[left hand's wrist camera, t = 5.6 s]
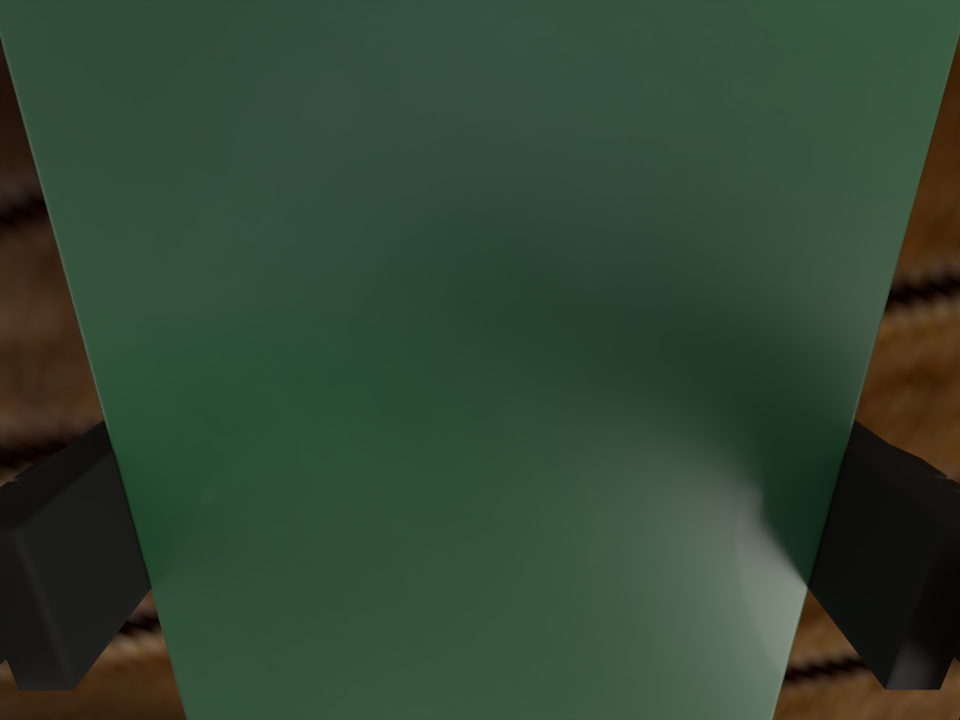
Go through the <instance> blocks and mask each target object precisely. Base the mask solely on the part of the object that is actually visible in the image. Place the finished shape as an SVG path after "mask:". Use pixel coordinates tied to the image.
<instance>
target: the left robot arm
mask: <svg viewBox="0 0 960 720" xmlns="http://www.w3.org/2000/svg"><path fill="white" fill-rule="evenodd" d="M150 589H151V587H150V584H149V580H148V576H147V573H146V569H145V566H144V562H143V558H142V555H141V551H140V547H139V544H138V540H137V536H136V533H135V529H134V525H133V522H132V518H131V514H130V511H129V507H128V503H127V500H126V496H125V492H124V489H123V485H122V481H121V478H120V474H119V470H118V467H117V463H116V459H115V456H114V452H113V448H112V445H111V441H110V437H109V434H108V430H107V426H106V423H105V420H104V421H102V422H101V423H99V424H98V425H97V426H95V427H94V428H92V429H91V430H89V431H88V432H87V433H85V434H84V435H82V436H81V437H80V438H78V439H77V440H75V441H74V442H72V443H71V444H70V445H68V446H67V447H65V448H64V449H63V450H61V451H59V452H56V453H54V454H52V455H50V456H48V457H45V458H43V459H41V460H39V461H37V462H36V463H34V464H33V465H31V466H30V467H29V468H27V469H26V470H24V471H23V472H21V473H20V474H18V475H17V476H16V477H14V478H13V481H12V482H7V483H5V484H4V485H3V486H1V487H0V664H1V663H2V662H3V661H4V660H5V659H7V662H8V664H9V666H10V669H11V671H12V674H13V676H14V678H15V681H16V683H17V685H18V688H19V690H74V689H75V688H76V686H77V685H78V684H79V682H80V681H81V680H82V678H83V677H84V676H85V675H86V673H87V672H88V671H89V669H90V668H91V667H92V665H93V664H94V663H95V661H96V660H97V659H98V657H99V656H100V655H101V653H102V652H103V651H104V649H105V648H106V647H107V645H108V644H109V643H110V642H111V640H112V639H113V638H114V636H115V635H116V634H117V632H118V631H119V630H120V628H121V627H122V626H123V624H124V623H125V622H126V620H127V619H128V618H129V616H130V615H131V614H132V613H133V611H134V610H135V609H136V607H137V606H138V605H139V603H140V602H141V601H142V599H143V598H144V597H145V595H146V594H147V593H148V591H149V590H150ZM809 590H810V591H811V592H812V594H813V595H814V596H815V597H816V599H817V600H818V601H819V603H820V604H821V605H822V607H823V608H824V609H825V611H826V612H827V613H828V615H829V616H830V617H831V619H832V620H833V621H834V623H835V624H836V625H837V627H838V628H839V629H840V630H841V632H842V633H843V634H844V636H845V637H846V638H847V640H848V641H849V642H850V644H851V645H852V646H853V648H854V649H855V650H856V652H857V653H858V654H859V656H860V657H861V658H862V659H863V661H864V662H865V663H866V665H867V666H868V667H869V669H870V670H871V671H872V673H873V674H874V675H875V677H876V678H877V679H878V681H879V682H880V683H881V685H882V686H883V687H884V689H885V690H940V688H941V686H942V683H943V681H944V679H945V676H946V674H947V671H948V669H949V667H950V664H951V662H952V659H953V657H954V656H955V657H956V659H957V660H958V661H959V662H960V485H959V484H958V483H956V482H955V481H953V480H948V479H947V476H946V475H945V474H943V473H942V472H940V471H939V470H937V469H936V468H935V467H933V466H932V465H930V464H929V463H927V462H926V461H924V460H923V459H921V458H919V457H917V456H915V455H913V454H910V453H908V452H906V451H904V450H901V449H899V448H897V447H895V446H893V445H890V444H888V443H887V442H885V441H884V440H883V439H881V438H880V437H878V436H877V435H876V434H874V433H873V432H871V431H870V430H868V429H867V428H866V427H864V426H863V425H861V424H860V423H859V422H857V421H856V420H854V423H853V426H852V430H851V434H850V437H849V441H848V445H847V448H846V452H845V456H844V459H843V463H842V467H841V470H840V474H839V478H838V481H837V485H836V489H835V492H834V496H833V500H832V503H831V507H830V511H829V514H828V518H827V522H826V525H825V529H824V533H823V536H822V540H821V544H820V547H819V551H818V555H817V558H816V562H815V566H814V569H813V573H812V577H811V580H810V584H809ZM959 720H960V718H959Z"/></svg>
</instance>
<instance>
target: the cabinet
mask: <svg viewBox="0 0 960 720" xmlns="http://www.w3.org/2000/svg"><path fill="white" fill-rule="evenodd" d="M959 35H960V0H0V38H1V42H2V46H3V49H4V53H5V57H6V60H7V64H8V68H9V71H10V75H11V79H12V82H13V86H14V90H15V93H16V97H17V101H18V104H19V108H20V112H21V115H22V119H23V123H24V126H25V130H26V134H27V137H28V141H29V145H30V148H31V152H32V156H33V159H34V163H35V167H36V170H37V174H38V178H39V181H40V185H41V189H42V192H43V196H44V200H45V203H46V207H47V210H48V214H49V218H50V221H51V225H52V229H53V232H54V236H55V240H56V243H57V247H58V251H59V254H60V258H61V262H62V265H63V269H64V273H65V276H66V280H67V284H68V287H69V291H70V295H71V298H72V302H73V306H74V309H75V313H76V317H77V320H78V324H79V328H80V331H81V335H82V339H83V342H84V346H85V350H86V353H87V357H88V361H89V364H90V368H91V372H92V375H93V379H94V383H95V386H96V390H97V393H98V397H99V401H100V404H101V408H102V412H103V415H104V419H105V423H106V426H107V430H108V434H109V437H110V441H111V445H112V448H113V452H114V456H115V459H116V463H117V467H118V470H119V474H120V478H121V481H122V485H123V489H124V492H125V496H126V500H127V503H128V507H129V511H130V514H131V518H132V522H133V525H134V529H135V533H136V536H137V540H138V544H139V547H140V551H141V555H142V558H143V562H144V566H145V569H146V573H147V576H148V580H149V584H150V587H151V591H152V595H153V598H154V602H155V606H156V609H157V613H158V617H159V620H160V624H161V628H162V631H163V635H164V639H165V642H166V646H167V650H168V653H169V657H170V661H171V664H172V668H173V672H174V675H175V679H176V683H177V686H178V690H179V694H180V697H181V701H182V705H183V708H184V712H185V716H186V719H187V720H772V719H773V716H774V712H775V708H776V705H777V701H778V697H779V694H780V690H781V686H782V683H783V679H784V675H785V672H786V668H787V664H788V661H789V657H790V653H791V650H792V646H793V642H794V639H795V635H796V631H797V628H798V624H799V620H800V617H801V613H802V609H803V606H804V602H805V598H806V595H807V591H808V588H809V584H810V580H811V577H812V573H813V569H814V566H815V562H816V558H817V555H818V551H819V547H820V544H821V540H822V536H823V533H824V529H825V525H826V522H827V518H828V514H829V511H830V507H831V503H832V500H833V496H834V492H835V489H836V485H837V481H838V478H839V474H840V470H841V467H842V463H843V459H844V456H845V452H846V448H847V445H848V441H849V437H850V434H851V430H852V426H853V423H854V419H855V415H856V412H857V408H858V404H859V401H860V397H861V394H862V390H863V386H864V383H865V379H866V375H867V372H868V368H869V364H870V361H871V357H872V353H873V350H874V346H875V342H876V339H877V335H878V331H879V328H880V324H881V320H882V317H883V313H884V309H885V306H886V302H887V298H888V295H889V291H890V287H891V284H892V280H893V276H894V273H895V269H896V265H897V262H898V258H899V254H900V251H901V247H902V243H903V240H904V236H905V232H906V229H907V225H908V221H909V218H910V214H911V211H912V207H913V203H914V200H915V196H916V192H917V189H918V185H919V181H920V178H921V174H922V170H923V167H924V163H925V159H926V156H927V152H928V148H929V145H930V141H931V137H932V134H933V130H934V126H935V123H936V119H937V115H938V112H939V108H940V104H941V101H942V97H943V93H944V90H945V86H946V82H947V79H948V75H949V71H950V68H951V64H952V60H953V57H954V53H955V49H956V46H957V42H958V38H959Z"/></svg>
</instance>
